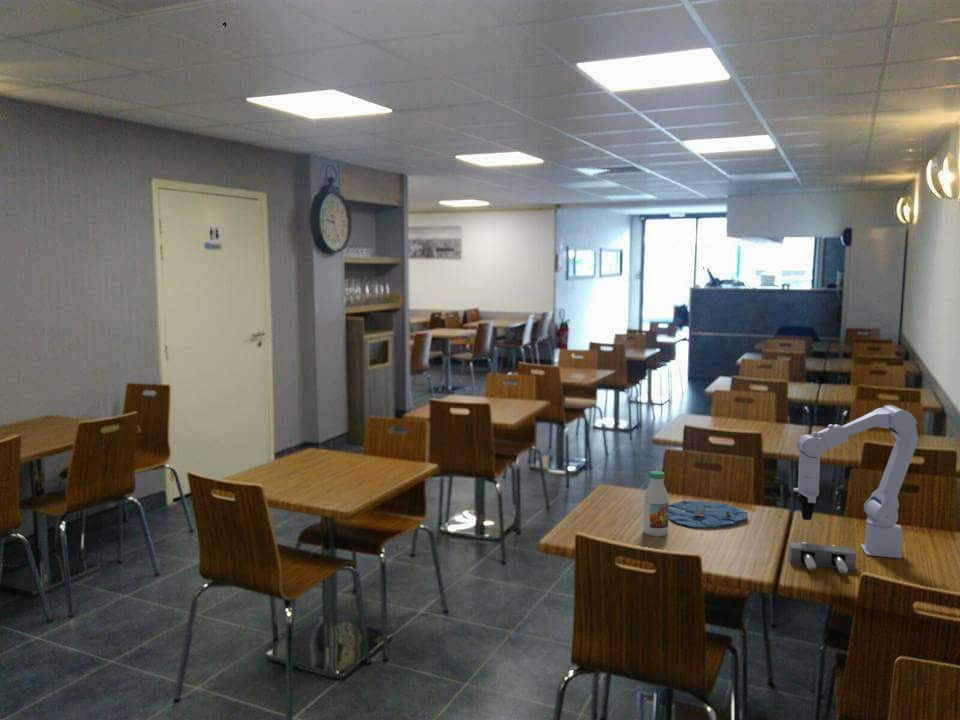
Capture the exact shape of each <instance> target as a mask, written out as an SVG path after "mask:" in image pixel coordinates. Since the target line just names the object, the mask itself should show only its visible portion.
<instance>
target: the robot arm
mask: <svg viewBox="0 0 960 720" xmlns="http://www.w3.org/2000/svg"><path fill="white" fill-rule="evenodd" d="M917 423H918V420H917V419H916V418H915V417H914V415H913V414H912V413H911V412H910V411H908V410H905V409H902V408H899V407H898V406H896V405H893V404H887V405H884V406H883V407H878V408H875V409H874V410H873V411H870V412H869V413H866V414H864V415H863V416H860V417H859V418H856V419H854V420H852V421H850V422H848V423H846V424H843V425H840V424H832V423H830V424H828V425H827V427H826V428H824V429H821V430H819V431H813V432H812V433H811V434H804V435H801V437H800V438H799V439H798V441H797V443H796V446H797V449H798V450H799V457H798V458H799V459H798V476H797V477H798V478H797V479H798V480H797V487H793V489H792V490H793V492H794V493H798V494H797V495H796V497H797V499H798V501H799V505H800V510H801V511H800V512H801V516H802V520H804V521H811V520H812V518H813V514H814V511H815V508H816V506H817V505H818V503H819V501H820V500H819V497H818V496H819V494H820V473H821V472H820V469H821V467H820V466H821V461H820V460H821V456H822V455H823V453H824V451H827V450H829V449H832V448H835V447H836V446H839V445H842V444H844V443H846V441H847V440H848V437H850V436H852V435H855V434H857V433H861V432H864V431H866V430H869V429H873V428H876V427H877V428H883V429H888V430H889V431H890V433H891V434H892V435H893V437H894V439H895V441H894V445H893V448H892V450H891V453H890V456H889V458H888V461H887V464H886V466H885V469H884V472H883V474H882V477H881V480H880V482H879V485H878V488H876V489H875V490H874V491H872V493H871V495H870V497H869V498H868V499H866V500H865V503H864V505H863V510H864V512H865V514H866V515H867V518H866V522H865V538H864V540H865V542H864V544H861V545H860V547H861V548H862V550H863V551H864V553H865V555H867V556H876V557H886V558H896V559H902V558H903V556H902V552H903V551H902V550H903V537H904V535H903V534H904V533H903V528H902V526H901V525H900V524H897V522H898V520H899V508H900V502H899V498H898V495H899V493H900V491H901V488H902V485H903V483H904V480H905V477H906V475H907V472H908V469H909V467H910V464H911V461H912V459H913V456H914V454H915V451H916V449H917V445H918V444H919V443H918V442H919V436H918V429H917Z"/></svg>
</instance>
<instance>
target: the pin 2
mask: <svg viewBox="0 0 960 720" xmlns="http://www.w3.org/2000/svg"><path fill="white" fill-rule="evenodd" d="M830 546H838V545H837V544H830ZM831 559H833V560H834V562H835V564H836V566H837V568H836V569H837V571H838V572H839V574H847V573H848V571H849V569H848V568H847V566H846V564H845V562H844V560H843V558H842V555H841V554H832V557H831Z"/></svg>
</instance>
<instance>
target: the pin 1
mask: <svg viewBox="0 0 960 720" xmlns="http://www.w3.org/2000/svg"><path fill="white" fill-rule="evenodd" d="M801 543H808V544H810V543H809V542H806V541H802V542H801ZM801 556H802V557H803V558H804V561H805V563H806V565H805V566H806V568H807V569H808V570H809V571H812V572H813V571H815V570H816V569H817V566H816V564H815V562H814V559H813V557H812V552H809V551H801Z"/></svg>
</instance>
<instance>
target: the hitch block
mask: <svg viewBox="0 0 960 720" xmlns="http://www.w3.org/2000/svg"><path fill="white" fill-rule="evenodd" d="M808 543H809V542H807V543H802V542H795V541H788V552H787V553H788V557H787V558H788V560H789V563H790V565H791V564H793V565H802V566H803V565H804V566H806V563H805V561H804V558H803V557H802V556H801V551H809V552H812V557H813V559H814V562H815V564H816V567H820V568H821V567H822V568H823V567H824V568H831V569H832V568H834V569H838V568H837V566H836V564H835V562H834V560H833V559H831V557H832V554H841V555H842V558H843V560H844V562H845V564H846V566H847V568H848V570H851V571H852V570H853V571H855V570H856V567H857V566H856V565H857V563H856V562H857V553H856V551H855V549H854V548H853V547H852V546H851V547H850V546H840V545H837V546H830V545H831V544H830V545H828V544H827V545H826V544H818V543H809V544H808Z"/></svg>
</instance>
